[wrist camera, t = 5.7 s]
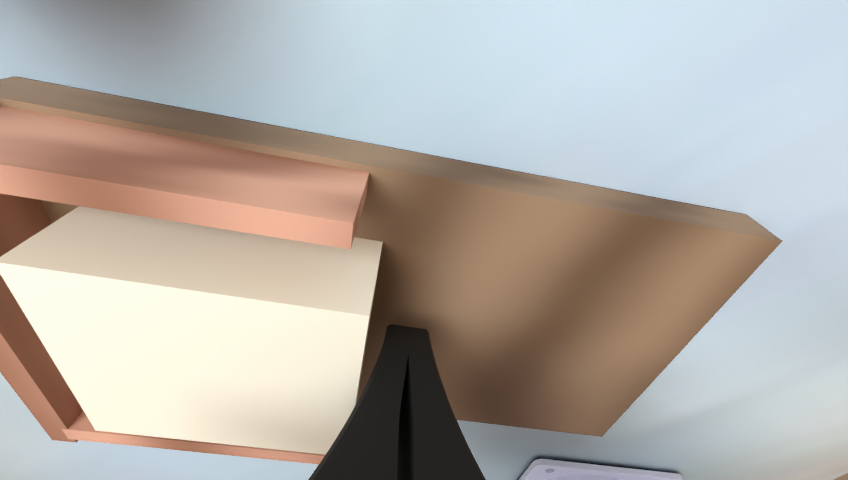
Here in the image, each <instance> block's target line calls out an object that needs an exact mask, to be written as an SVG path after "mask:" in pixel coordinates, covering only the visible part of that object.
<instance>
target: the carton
mask: <svg viewBox="0 0 848 480" xmlns="http://www.w3.org/2000/svg"><path fill="white" fill-rule="evenodd" d="M382 243H383V242H380V241H374V240H368V239H362V238H356V237H354V240H353V243H352V247H351V249H345V248H339V247H333V246H326V245H320V244H314V243H308V242H301V241H295V240H289V239H283V238H276V237H270V236H264V235H258V234H251V233H245V232H239V231H232V230H226V229H220V228H214V227H207V226H201V225H195V224H189V223H182V222H176V221H170V220H164V219H157V218H151V217H145V216H138V215H132V214H126V213H120V212H113V211H107V210H101V209H95V208H88V207H82V206H79V207H77V208H76V209H74V210H73V211H71V212H69V213H68V214H66V215H65V216H63V217H62V218H60V219H58V220H57V221H55V222H54V223H52V224H51V225H49V226H48V227H46V228H44V229H43V230H41V231H40V232H38V233H37V234H35V235H34V236H32V237H30V238H29V239H27V240H26V241H24V242H23V243H21V244H20V245H18V246H16V247H15V248H13V249H12V250H10V251H9V252H7V253H5V254H4V255H2V256H1V257H0V275H1V276H2V278H3V279H4V281H5V283H6V284H7V286H8V288H9V289H10V291H11V293H12V294H13V296H14V298H15V299H16V301H17V302H18V304H19V306H20V307H21V309H22V311H23V312H24V314H25V316H26V317H27V319H28V321H29V322H30V324H31V325H32V327H33V329H34V330H35V332H36V334H37V335H38V337H39V339H40V340H41V342H42V344H43V345H44V347H45V348H46V350H47V352H48V353H49V355H50V357H51V358H52V360H53V362H54V363H55V365H56V367H57V368H58V370H59V371H60V373H61V375H62V376H63V378H64V380H65V381H66V383H67V385H68V386H69V388H70V390H71V391H72V393H73V394H74V396H75V398H76V399H77V401H78V403H79V404H80V406H81V408H82V409H83V411H84V413H85V414H86V416H87V417H88V419H89V421H90V422H91V424H92V426H93V427H94V429H95V431H105V432H114V433H124V434H133V435H143V436H152V437H162V438H171V439H181V440H190V441H200V442H210V443H219V444H229V445H238V446H248V447H257V448H267V449H276V450H286V451H296V452H305V453H315V454H324V455H326V453H327V452H328V450H329V449H330V447H331V446H332V444H333V443H334V441H335V440H336V438H337V436H338V435H339V433H340V431H341V430H342V428H343V426H344V425H345V423H346V421H347V420H348V418H349V416H350V414H351V413H352V411H353V409H354V407H355V405H356V402H357V396H358V390H359V385H360V379H361V373H362V367H363V360H364V354H365V348H366V342H367V336H368V330H369V323H370V317H371V311H372V305H373V299H374V293H375V286H376V280H377V274H378V268H379V262H380V256H381V249H382Z"/></svg>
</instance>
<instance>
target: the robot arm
mask: <svg viewBox="0 0 848 480" xmlns="http://www.w3.org/2000/svg"><path fill="white" fill-rule="evenodd" d="M309 480H486V479H485V478H484V476H483V474H482V472H481V470H480V468H479V466H478V464H477V463H476V461H475V459H474V457H473V455H472V453H471V451H470V449H469V447H468V445H467V443H466V440H465V438H464V436H463V434H462V432H461V430H460V427H459V425H458V423H457V420H456V418H455V415H454V413H453V411H452V408H451V406H450V403H449V400H448V398H447V395H446V392H445V389H444V386H443V384H442V381H441V378H440V375H439V372H438V368H437V365H436V362H435V358H434V354H433V350H432V346H431V342H430V337H429V332H428V331H427V329H422V328H415V327H407V326H400V325H393V324H390V325H388V326H387V328H386V333H385V338H384V342H383V346H382V349H381V351H380V354H379V357H378V359H377V362H376V364H375V366H374V369H373V371H372V373H371V375H370V378H369V380H368V382H367V384H366V386H365V388H364V390H363V392H362V394H361V396H360V398H359V400H358V402H357V403H356V405H355V407H354V409H353V411H352V413H351V414H350V416H349V418H348V420H347V421H346V423H345V425H344V426H343V428H342V430H341V431H340V433H339V435H338V436H337V438H336V440H335V441H334V443H333V444H332V446H331V447H330V449H329V450H328V452H327V453H326V455H325V456H324V458H323V460H322V461H321V463H320V464H319V465H318V467H317V468H316V470H315V471H314V473H313V474H312V476H311V477H310V478H309ZM519 480H684V479H683V477H682V475H680V474H677V473H669V472H660V471H650V470H641V469H632V468H623V467H614V466H604V465H595V464H586V463H577V462H568V461H559V460H549V459H536V460H534V461H533V462H532V463H531V465H530V466H529V467H528V468H527V470H526V471H525V472H524V474H523V475H522V476H521V478H520V479H519Z"/></svg>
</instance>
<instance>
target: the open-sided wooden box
mask: <svg viewBox="0 0 848 480" xmlns="http://www.w3.org/2000/svg"><path fill="white" fill-rule="evenodd" d="M79 206H82V207H88V208H95V209H101V210H107V211H113V212H120V213H126V214H132V215H138V216H145V217H151V218H157V219H164V220H170V221H176V222H182V223H189V224H195V225H201V226H207V227H214V228H220V229H226V230H232V231H239V232H245V233H251V234H258V235H264V236H270V237H276V238H283V239H289V240H295V241H301V242H308V243H314V244H320V245H326V246H333V247H339V248H345V249H351V247H352V243H353V240H354V237H356V238H362V239H368V240H374V241H380V242H383V243H382V249H381V256H380V262H379V268H378V274H377V280H376V286H375V293H374V299H373V305H372V311H371V317H370V323H369V330H368V336H367V342H366V348H365V354H364V360H363V367H362V373H361V379H360V385H359V390H358V396H357V402H358V400H359V398H360V396H361V394H362V392H363V390H364V388H365V386H366V384H367V382H368V380H369V378H370V375H371V373H372V371H373V369H374V366H375V364H376V362H377V359H378V357H379V354H380V351H381V349H382V346H383V342H384V338H385V333H386V328H387V326H388V325H390V324H393V325H400V326H407V327H415V328H422V329H427V331H428V332H429V337H430V342H431V346H432V350H433V354H434V358H435V362H436V365H437V368H438V372H439V375H440V378H441V381H442V384H443V386H444V389H445V392H446V395H447V398H448V400H449V403H450V406H451V408H452V411H453V413H454V415H455V418H456V420H465V421H473V422H482V423H490V424H499V425H507V426H516V427H524V428H533V429H541V430H550V431H559V432H567V433H576V434H584V435H593V436H601V437H602V436H603V435H604V434H605V433H606V432H607V430H608V429H609V428H610V427H611V426H612V425H613V424H614V423H615V422H616V421H617V420H618V419H619V417H620V416H621V415H622V414H623V413H624V412H625V411H626V410H627V409H628V408H629V407H630V406H631V404H632V403H633V402H634V401H635V400H636V399H637V398H638V397H639V396H640V395H641V394H642V393H643V391H644V390H645V389H646V388H647V387H648V386H649V385H650V384H651V383H652V382H653V381H654V380H655V378H656V377H657V376H658V375H659V374H660V373H661V372H662V371H663V370H664V369H665V368H666V367H667V365H668V364H669V363H670V362H671V361H672V360H673V359H674V358H675V357H676V356H677V355H678V354H679V352H680V351H681V350H682V349H683V348H684V347H685V346H686V345H687V344H688V343H689V342H690V340H691V339H692V338H693V337H694V336H695V335H696V334H697V333H698V332H699V331H700V330H701V329H702V327H703V326H704V325H705V324H706V323H707V322H708V321H709V320H710V319H711V318H712V317H713V316H714V314H715V313H716V312H717V311H718V310H719V309H720V308H721V307H722V306H723V305H724V304H725V303H726V301H727V300H728V299H729V298H730V297H731V296H732V295H733V294H734V293H735V292H736V291H737V290H738V288H739V287H740V286H741V285H742V284H743V283H744V282H745V281H746V280H747V279H748V278H749V277H750V275H751V274H752V273H753V272H754V271H755V270H756V269H757V268H758V267H759V266H760V265H761V264H762V262H763V261H764V260H765V259H766V258H767V257H768V256H769V255H770V254H771V253H772V252H773V251H774V249H775V248H776V247H777V246H778V245H779V244H780V243H781V242H782V240H780V239H779V238H778V237H776V236H775V235H773V234H772V233H771V232H769V231H768V230H767V229H765V228H764V227H763V226H761V225H760V224H758V223H757V222H756V221H754V220H753V219H752V218H750V217H749V216H748V215H745V214H740V213H735V212H730V211H724V210H719V209H714V208H708V207H703V206H698V205H693V204H687V203H682V202H677V201H671V200H666V199H661V198H656V197H650V196H645V195H640V194H634V193H629V192H624V191H618V190H613V189H608V188H603V187H597V186H592V185H587V184H581V183H576V182H571V181H566V180H560V179H555V178H550V177H544V176H539V175H534V174H529V173H523V172H518V171H513V170H507V169H502V168H497V167H491V166H486V165H481V164H476V163H470V162H465V161H460V160H454V159H449V158H444V157H439V156H433V155H428V154H423V153H417V152H412V151H407V150H402V149H396V148H391V147H386V146H380V145H375V144H370V143H364V142H359V141H354V140H349V139H343V138H338V137H333V136H327V135H322V134H317V133H312V132H306V131H301V130H296V129H290V128H285V127H280V126H275V125H269V124H264V123H259V122H253V121H248V120H243V119H237V118H232V117H227V116H222V115H216V114H211V113H206V112H200V111H195V110H190V109H185V108H179V107H174V106H169V105H163V104H158V103H153V102H148V101H142V100H137V99H132V98H126V97H121V96H116V95H111V94H105V93H100V92H95V91H89V90H84V89H79V88H73V87H68V86H63V85H58V84H52V83H47V82H42V81H36V80H31V79H26V78H21V77H15V76H14V77H9V78H5V79H1V80H0V257H1V256H2V255H4V254H5V253H7V252H9V251H10V250H12V249H13V248H15V247H16V246H18V245H20V244H21V243H23V242H24V241H26V240H27V239H29V238H30V237H32V236H34V235H35V234H37V233H38V232H40V231H41V230H43V229H44V228H46V227H48V226H49V225H51V224H52V223H54V222H55V221H57V220H58V219H60V218H62V217H63V216H65V215H66V214H68V213H69V212H71V211H73V210H74V209H76V208H77V207H79ZM0 372H1V374H2V375H3V376H4V377H5V379H6V380H7V381H8V383H9V384H10V385H11V387H12V388H13V389H14V391H15V392H16V393H17V394H18V396H19V397H20V398H21V400H22V401H23V402H24V404H25V405H26V406H27V408H28V409H29V410H30V411H31V413H32V414H33V415H34V417H35V418H36V419H37V421H38V422H39V423H40V424H41V426H42V427H43V428H44V430H45V431H46V432H47V434H48V435H49V436H50V438H51V439H52V440H58V441H68V442H77V441H78V440H84V441H94V442H104V443H114V444H123V445H133V446H143V447H153V448H163V449H173V450H183V451H193V452H203V453H213V454H223V455H232V456H242V457H252V458H262V459H272V460H282V461H292V462H302V463H312V464H320V463H321V461H322V460H323V458H324V456H325V455H324V454H315V453H305V452H296V451H286V450H276V449H267V448H257V447H248V446H238V445H229V444H219V443H210V442H200V441H190V440H181V439H171V438H162V437H152V436H143V435H133V434H124V433H114V432H105V431H95V429H94V427H93V426H92V424H91V422H90V421H89V419H88V417H87V416H86V414H85V413H84V411H83V409H82V408H81V406H80V404H79V403H78V401H77V399H76V398H75V396H74V394H73V393H72V391H71V390H70V388H69V386H68V385H67V383H66V381H65V380H64V378H63V376H62V375H61V373H60V371H59V370H58V368H57V367H56V365H55V363H54V362H53V360H52V358H51V357H50V355H49V353H48V352H47V350H46V348H45V347H44V345H43V344H42V342H41V340H40V339H39V337H38V335H37V334H36V332H35V330H34V329H33V327H32V325H31V324H30V322H29V321H28V319H27V317H26V316H25V314H24V312H23V311H22V309H21V307H20V306H19V304H18V302H17V301H16V299H15V298H14V296H13V294H12V293H11V291H10V289H9V288H8V286H7V284H6V283H5V281H4V279H3V278H2V276H1V275H0ZM357 402H356V403H357Z"/></svg>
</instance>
